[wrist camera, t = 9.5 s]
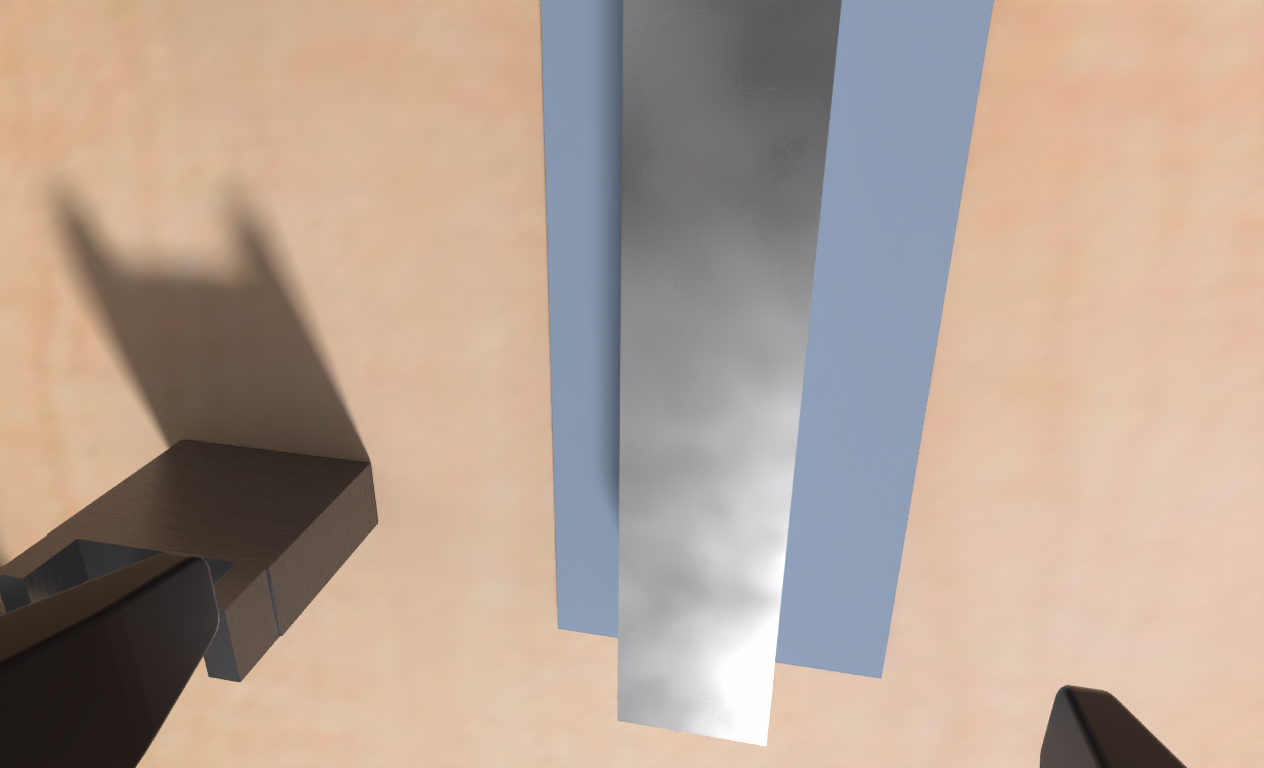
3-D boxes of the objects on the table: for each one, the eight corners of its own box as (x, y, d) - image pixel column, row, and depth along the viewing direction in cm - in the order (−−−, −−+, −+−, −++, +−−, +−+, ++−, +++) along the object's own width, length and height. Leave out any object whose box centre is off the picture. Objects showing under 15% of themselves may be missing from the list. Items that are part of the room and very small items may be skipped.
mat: (562, 619, 26) (558, 628, 26) (538, -314, 17) (531, -320, 16) (880, 668, 24) (881, 678, 24) (1046, -339, 15) (1051, -347, 15)
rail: (650, 613, 25) (617, 720, 21) (672, -261, 16) (625, -328, 13) (777, 632, 24) (766, 746, 21) (868, -268, 16) (876, -340, 12)
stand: (194, 498, 27) (15, 642, 21) (181, 439, 26) (-9, 573, 20) (377, 523, 26) (242, 682, 20) (370, 463, 25) (226, 611, 19)
